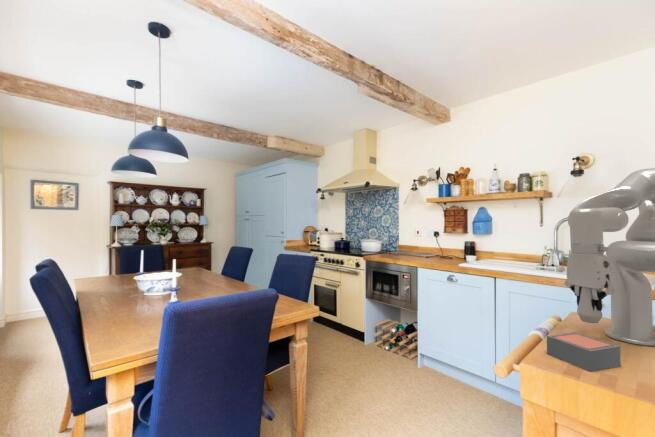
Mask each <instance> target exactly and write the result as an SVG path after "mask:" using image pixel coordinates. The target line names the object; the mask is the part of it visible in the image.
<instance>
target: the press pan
mask: <svg viewBox="0 0 655 437" xmlns="http://www.w3.org/2000/svg"><path fill="white" fill-rule="evenodd" d="M554 338H557V339H560V340H563V341H566V342H569V343H572V344H575V345H578V346H580V347H583V348H586V349H589V350H590V349H596V348H602V347H609V346H612V345H610V344H607V343H603V342H600V341H597V340H594V339H591V338H592V337H591V338H587V337H584V336H581V335H578V334H571V335H564V336H556V337H554Z"/></svg>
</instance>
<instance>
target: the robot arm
mask: <svg viewBox="0 0 655 437" xmlns="http://www.w3.org/2000/svg"><path fill="white" fill-rule="evenodd" d="M637 208H638V211H639V212H638V214H637V217H636V218H635V219H634V221H633V222H632V223H631V225H630V226H629V227H628V229H627V231H626V233H625V240H618V241H613V242H611V243H610V244H608V245H607V246H605V244H604V233H613V232H614V233H616V232H620V231H622V230H624V229H625V228H626V227H627V226H628V224H629V222H630V221H629V215H628V213H627V212H628V211H632V210H635V209H637ZM567 224H568V226H569V233H570V234H569V236H570V237H569V238H570V242H569V243H570V253H568V256H567V262H566V279H565V281H564V283H563V284H564V285H565V286H566V287H567V288H569V289H570V290H571V291H572V292H573V293H574V296H575V297H576V305H577V306H578V305H579V300H580V291H581V287H585V288H591V289H592V294H593V299H591V302H592V308H593V311H594V308H595V305H596V309H597V310H598V311H601V312H602V310H603V304H602V303H603V301H602V300H604V299H605V298H606V297H608V296H609V295H610V323H611V324H610V325H611V326H610V328H607V329H605V330H604V334H605V335H606V336H607V337H609V338H612V339H614V340H617V341H619V342H620V341H621V342H624V343H628V344H634V345H641V346H647V347H649V346H651V347H653V346H654V347H655V336H654V333H655V325H653V323H654V322H653V315H654V314H653V287H652V284H651V282H650V280H649V279H648V277H647V276H646V275H645V274H644V273H643V272H645V273H646V272H647V273H655V167H650V168H642V169H638V170H635V171H633V172H631V173H629V175H627V176H625V178H623V180H622V181H620V182H619V183H618V184H616V186H615V187H614V188H612V189H609V190H606V191H604V192H602V193H601V192H600V193H599V194H597V195H593V196H591V197H588V198H586V199H584V200H582V201H581V202H579V203H578V204H577V205H576V206H575V207H573V208H572V210H570V212H569V214H568V217H567ZM604 289H605V290H604Z"/></svg>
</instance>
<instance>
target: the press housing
mask: <svg viewBox="0 0 655 437" xmlns="http://www.w3.org/2000/svg"><path fill="white" fill-rule="evenodd" d="M571 334H578V335H581V336H584V337H587V338H591V339H594V340H597V341H600V342H603V343H607V344H610V345H612V346H609V347H602V348H596V349H590V350H589V349H586V348H583V347H580V346H578V345H575V344H572V343H569V342H566V341H563V340H560V339H557V338H554V337H556V336H564V335H571ZM546 354H547V355H549V356H552V357H555V358H557V359H559V360H561V361H564V362H566V363H568V364H571V365H574V366H576V367H579V368H581V369H583V370H586V371H588V372H595V371H601V370H608V369H610V368H611V369H613V368H617V367H621V346H620V345H617V344H613V343H610V342H608V341H604V340H601V339H598V338H595V337H591V336H588V335H585V334H581V333H578V332H574V331H573V332H566V333H560V334H559V333H557V334H551V335H546Z"/></svg>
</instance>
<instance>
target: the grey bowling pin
mask: <svg viewBox="0 0 655 437" xmlns="http://www.w3.org/2000/svg"><path fill="white" fill-rule="evenodd" d="M591 299H593V294H592V289H591V288H585V287H581V291H580V300H579V305H577V309H576V310H577V311H576V313H577V315H578V317H579V319H580V321H582V322H584V323H589V324H598V323H599V322H600V320H602V317H603V312H602V310H601V311H598V310H597V309H596V305H595V308H594V311H593V308H592V302H591Z"/></svg>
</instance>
